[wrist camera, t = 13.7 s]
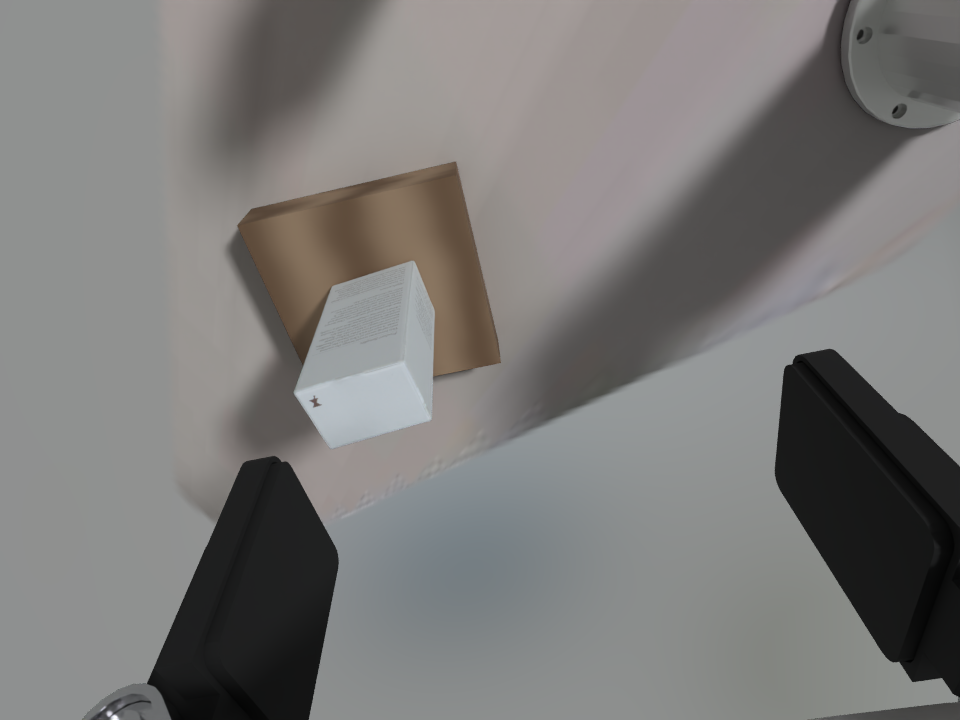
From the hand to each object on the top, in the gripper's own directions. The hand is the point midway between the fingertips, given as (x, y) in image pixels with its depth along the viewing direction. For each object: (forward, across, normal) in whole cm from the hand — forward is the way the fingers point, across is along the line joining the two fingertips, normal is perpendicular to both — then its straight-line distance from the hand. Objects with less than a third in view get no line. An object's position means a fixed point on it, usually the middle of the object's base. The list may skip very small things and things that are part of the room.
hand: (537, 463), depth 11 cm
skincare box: (+28, +9, +9) cm, 30 cm away
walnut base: (+30, +9, +9) cm, 33 cm away
